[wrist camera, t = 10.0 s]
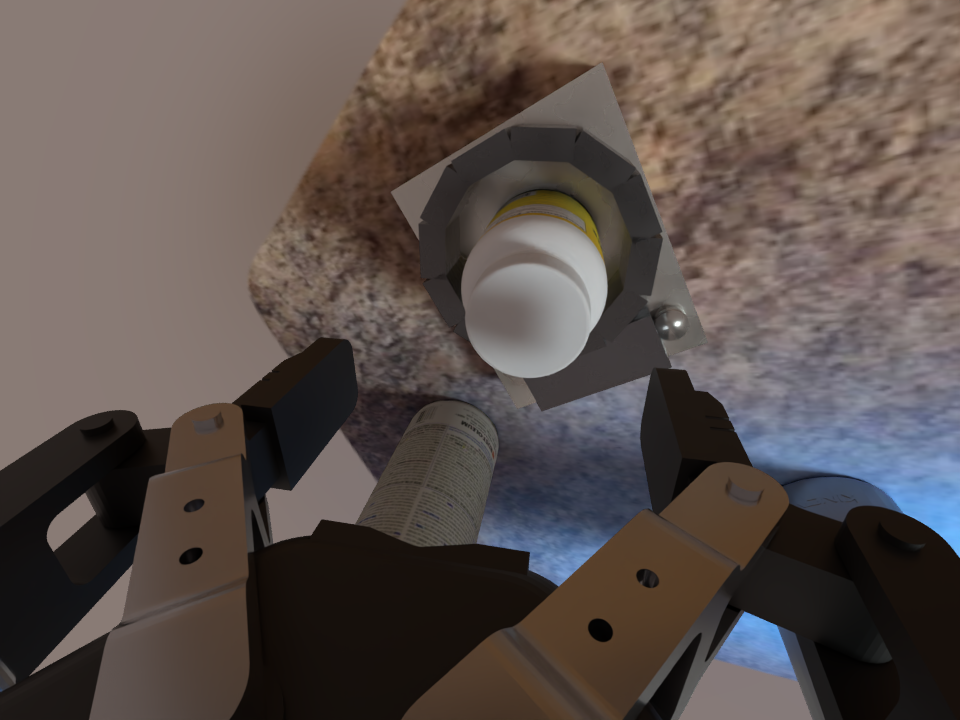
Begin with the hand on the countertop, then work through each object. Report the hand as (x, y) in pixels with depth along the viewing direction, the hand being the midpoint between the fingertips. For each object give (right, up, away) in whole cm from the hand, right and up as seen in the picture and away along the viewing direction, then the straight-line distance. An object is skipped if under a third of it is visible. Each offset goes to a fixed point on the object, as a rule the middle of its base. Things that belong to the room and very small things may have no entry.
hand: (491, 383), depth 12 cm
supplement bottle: (+3, +6, +11) cm, 13 cm away
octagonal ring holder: (+4, +7, +14) cm, 16 cm away
